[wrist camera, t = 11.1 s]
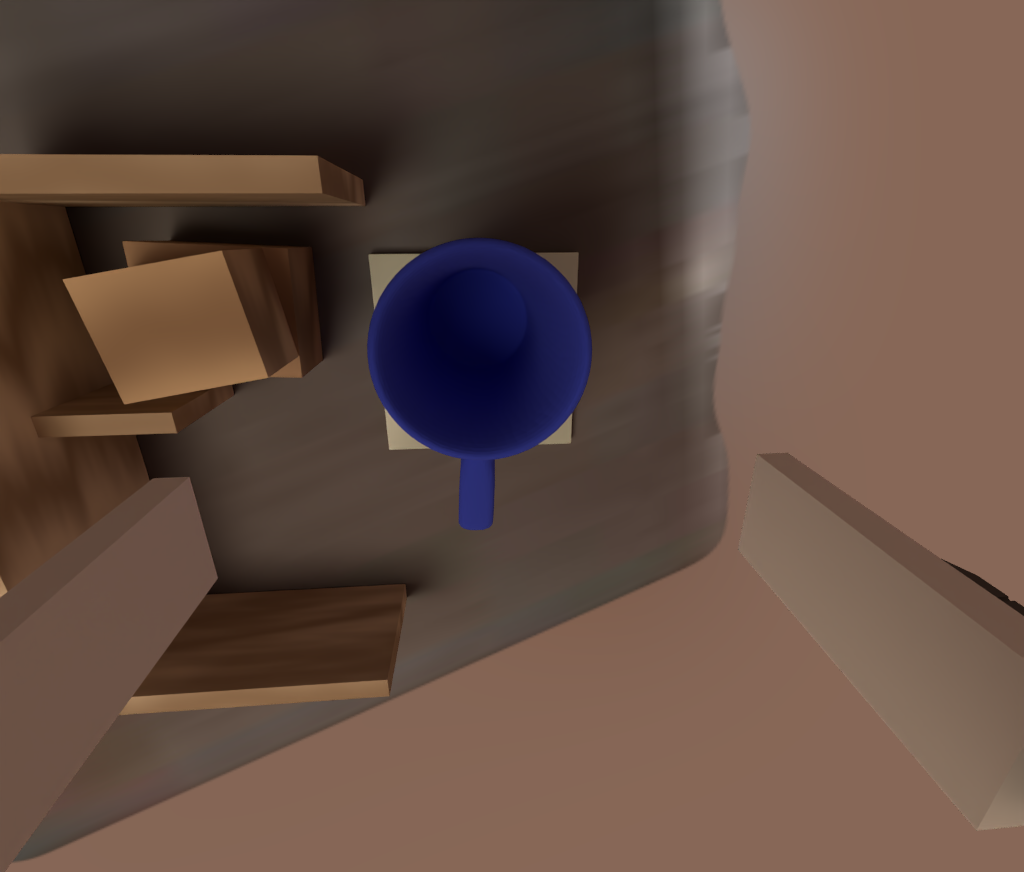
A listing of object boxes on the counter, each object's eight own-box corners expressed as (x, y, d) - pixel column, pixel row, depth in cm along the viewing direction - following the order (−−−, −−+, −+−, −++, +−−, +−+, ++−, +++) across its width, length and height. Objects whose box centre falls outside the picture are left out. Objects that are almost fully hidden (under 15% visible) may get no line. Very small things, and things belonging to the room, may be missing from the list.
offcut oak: (129, 272, 22) (62, 279, 19) (262, 248, 22) (221, 250, 19) (176, 378, 24) (124, 404, 20) (298, 356, 24) (268, 377, 21)
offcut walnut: (172, 240, 26) (122, 241, 22) (313, 247, 26) (287, 248, 22) (194, 356, 28) (152, 374, 24) (324, 359, 28) (302, 377, 25)
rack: (30, 179, 24) (-250, 142, 15) (362, 179, 25) (299, 145, 16) (171, 611, 34) (56, 753, 24) (406, 597, 35) (383, 729, 25)
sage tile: (370, 254, 26) (368, 254, 26) (576, 252, 27) (578, 252, 26) (390, 445, 30) (389, 449, 30) (569, 439, 31) (570, 443, 31)
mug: (405, 449, 30) (376, 545, 21) (399, 232, 25) (359, 230, 16) (541, 452, 31) (571, 545, 21) (558, 242, 26) (606, 245, 17)
